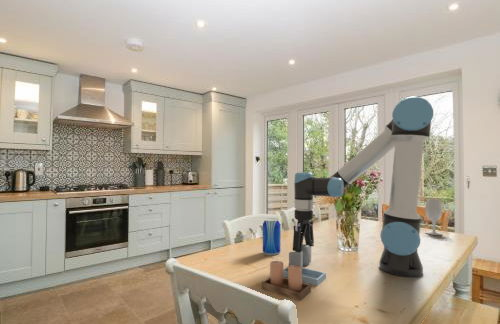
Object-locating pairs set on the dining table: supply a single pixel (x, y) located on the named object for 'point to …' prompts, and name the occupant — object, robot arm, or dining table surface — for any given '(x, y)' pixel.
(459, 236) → the dining table surface
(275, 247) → the beer can
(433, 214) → the wineglass
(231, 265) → the dining table surface
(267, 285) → the trough
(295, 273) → the cylinder
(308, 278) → the trough
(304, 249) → the cylinder
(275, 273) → the cylinder
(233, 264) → the dining table surface
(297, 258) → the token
